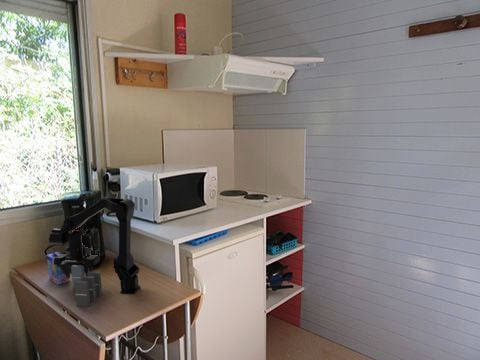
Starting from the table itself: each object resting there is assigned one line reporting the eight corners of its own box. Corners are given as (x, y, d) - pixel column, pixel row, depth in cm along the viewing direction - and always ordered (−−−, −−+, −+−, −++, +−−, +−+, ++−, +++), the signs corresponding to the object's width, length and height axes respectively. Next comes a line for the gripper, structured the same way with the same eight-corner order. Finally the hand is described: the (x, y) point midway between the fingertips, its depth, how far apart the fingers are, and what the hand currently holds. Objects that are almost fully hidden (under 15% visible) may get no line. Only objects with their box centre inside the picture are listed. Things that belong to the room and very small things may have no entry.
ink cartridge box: (48, 279, 164) (45, 249, 161) (60, 275, 168) (57, 246, 166) (57, 285, 157) (54, 254, 155) (69, 281, 161) (67, 251, 159)
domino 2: (90, 304, 139) (88, 281, 138) (87, 306, 138) (85, 283, 136) (78, 304, 140) (76, 280, 139) (76, 306, 138) (73, 282, 137)
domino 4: (102, 294, 148) (100, 271, 147) (100, 295, 147) (98, 273, 145) (91, 293, 149) (89, 271, 147) (89, 295, 147) (87, 272, 146)
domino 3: (96, 299, 144) (94, 276, 142) (94, 301, 142) (92, 278, 141) (85, 298, 144) (83, 275, 143) (82, 300, 143) (80, 277, 141)
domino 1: (85, 287, 155) (83, 265, 154) (83, 288, 154) (81, 267, 152) (75, 286, 156) (73, 265, 154) (72, 288, 154) (70, 266, 153)
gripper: (105, 239, 158) (107, 271, 161) (67, 238, 161) (70, 270, 163) (91, 247, 147) (94, 282, 150) (50, 246, 150) (54, 280, 152)
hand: (78, 278), depth 154 cm, fingers open, 9 cm apart
